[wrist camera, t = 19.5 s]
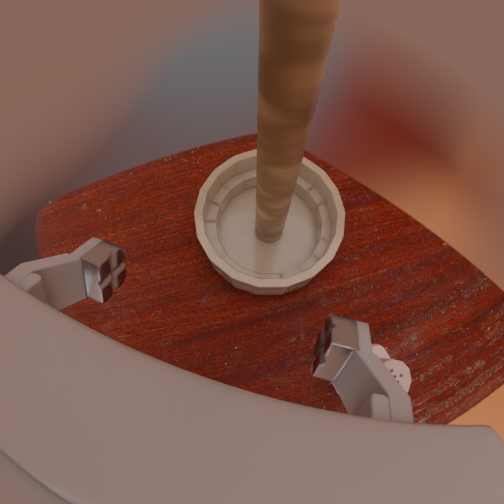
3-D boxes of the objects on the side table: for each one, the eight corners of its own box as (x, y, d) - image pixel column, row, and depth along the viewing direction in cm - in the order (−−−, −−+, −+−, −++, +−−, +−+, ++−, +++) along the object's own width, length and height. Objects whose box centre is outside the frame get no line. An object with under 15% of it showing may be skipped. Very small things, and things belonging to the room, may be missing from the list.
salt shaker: (355, 340, 26) (401, 341, 17) (373, 374, 25) (424, 387, 16) (319, 363, 25) (352, 376, 16) (338, 397, 24) (378, 423, 15)
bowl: (179, 255, 28) (165, 239, 23) (245, 158, 31) (244, 129, 26) (294, 320, 26) (303, 317, 22) (349, 210, 29) (365, 188, 25)
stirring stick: (250, 234, 28) (242, -94, 3) (263, 212, 29) (285, -96, 4) (274, 248, 28) (341, -83, 3) (287, 225, 28) (365, -81, 3)
